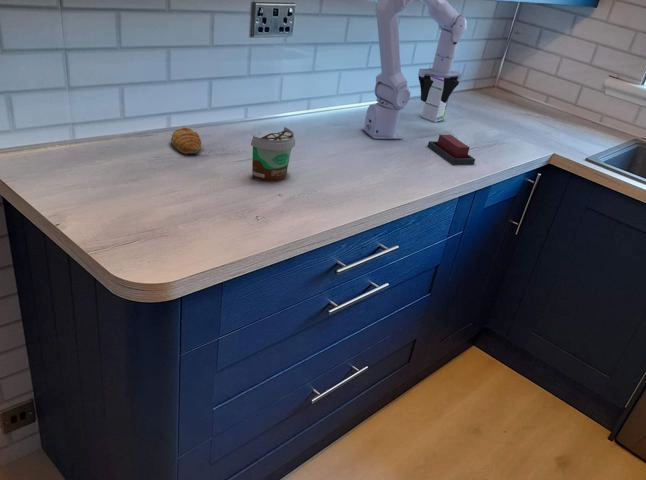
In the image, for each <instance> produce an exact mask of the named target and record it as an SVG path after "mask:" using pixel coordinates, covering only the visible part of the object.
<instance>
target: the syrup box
mask: <svg viewBox="0 0 646 480" xmlns="http://www.w3.org/2000/svg"><path fill="white" fill-rule="evenodd" d="M430 78H431V80H432V81H434V82H433V84H432V86H431V88H430V90H429V93H428V97H427V100H426V102H424V104H423V108H422V113H421V118H422V119H425V120H428V121H429V122H433V123H437V122H440V121H444V119H445V114H446V112H447V111H446V110H447V106H448V102H449V100H450V99H449V98H450V97H449V98H448V100H447V102H446V103H444V102H442V101H441V96H442V92H443V86H444V78H437V77H430Z"/></svg>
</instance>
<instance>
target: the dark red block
mask: <svg viewBox="0 0 646 480" xmlns="http://www.w3.org/2000/svg"><path fill="white" fill-rule="evenodd" d="M437 141H438V142H437V146H438V147H439V148H441V149H442V150H444V151H445V152H447V153H448V154H449V155H451V156H452V157H454V158H467V155H469V151H470V149H471V148H470V146H468V145H467V144H466V143H464V142H462V141H461V140H459V139H458V138H457V137H455V136H453V135H452V134H441V133H439V135H438V138H437Z"/></svg>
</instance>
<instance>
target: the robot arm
mask: <svg viewBox="0 0 646 480" xmlns="http://www.w3.org/2000/svg"><path fill="white" fill-rule="evenodd" d="M418 1H419V2H420V3H422V4H423V5H424V6H425V7H426V8H427V14H428V16H429V17H430V18H431V19H432V20H433V21H434V22H436V23H437V26H438V29H439V30H440V33H439V38H438V42H437V45H436V49H435V50H436V51H435V54H434V59H433V63H432V66H431V67H429V68H419V69H418V73H417V75H418V77H417V78H418V82H419V86H420V101H422V102H423V103H425V102H426V100H427V97H428V93H429V90H430V88H431V86H432V84H433V82H434V81H432V80H431V78H430V77H437V78H444V86H443V92H442V96H441V101H442V102H444V103H446V102H447V100H448V101H449V99H448V98H450V96H451V95H452V93H453V91H454V90H455V89H456V88H457V87H458V86H459V84H460V81H461V78H462V75H463V73H462V72H460V71H458V70H457V71H455V70H452V68H453V63H454V60H455V56H456V52H457V48H458V44H459V42H461V40H462V37H463V34H464V33H465V32H466V30H467V28H468V25H467V23H468V22H467V19H466V16H465V15H464V14H462V13H459V12H458V11H457V8H456V7H455V6H452V5H451V4H450V3H449V0H418ZM412 2H414V0H377V4H376V8H375V9H376V11H375V12H376V25H377V35H378V36H377V37H378V46H379V47H378V49H379V59H380V70H381V72H380V73H378V74H377V75H376V76H375V86H374V90H373V91H374V95H375V97H376V103H373V104H369V106H368V107H367V109H366V114H365V120H364V124H363V127H362V128H361V129H362V130H363V131H364V132H365V133H366V134H368V135H369V136H370V137H371V138H373V139H374V140H378V139H379V140H401V139H402V137H401V136H400V135H399V134H397V131H398V126H399V122H400V117H401V112H402V109H404V108H405V107H406V106H407V105H408V103H409V102H410V99H411V90H410V87H409V86H408V80H407V78H406V77H405V75H404V74H403V72H402V64H401V63H402V62H401V61H402V60H401V49H400V32H399V14H400V13H402V12H403V11H404V10H405V9H406V8H407V7H409V5H410V4H411V3H412Z"/></svg>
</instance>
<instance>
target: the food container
mask: <svg viewBox="0 0 646 480" xmlns="http://www.w3.org/2000/svg"><path fill="white" fill-rule="evenodd" d="M294 133H295V132H293V130H291V129H290V128H288V127H286V126H284V127H283V130H282V131H279V132H272V133H268V134H266V135H264V136H262V137H259V136H258V137H257V136H256V135H255V136H254V135H253V136H252V138H251V142H250V146H252V163H251V165H252V167H251V173H252V174H251V178H252V179H255V180H259V181H262V182H268V183H269V182H270V183H271V182H281V181H283V180H285V179H286V177H287V172H288V168H289V163H290V158H291V153H292V149H293V148H294V147H295V146H296V136H295V134H294Z"/></svg>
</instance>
